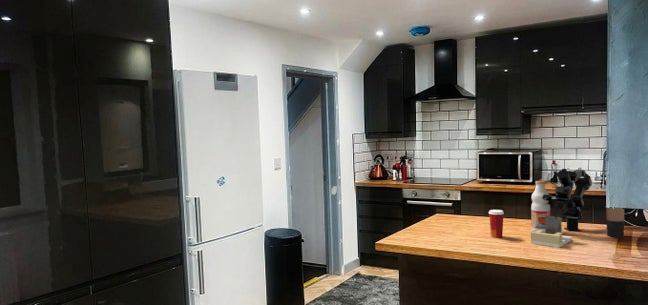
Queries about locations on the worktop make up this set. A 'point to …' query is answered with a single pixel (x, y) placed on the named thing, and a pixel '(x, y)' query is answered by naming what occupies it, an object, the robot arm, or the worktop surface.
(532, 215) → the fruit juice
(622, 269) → the worktop surface
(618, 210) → the travel mug
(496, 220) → the paper cup
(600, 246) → the worktop surface
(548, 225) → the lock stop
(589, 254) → the worktop surface
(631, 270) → the worktop surface
